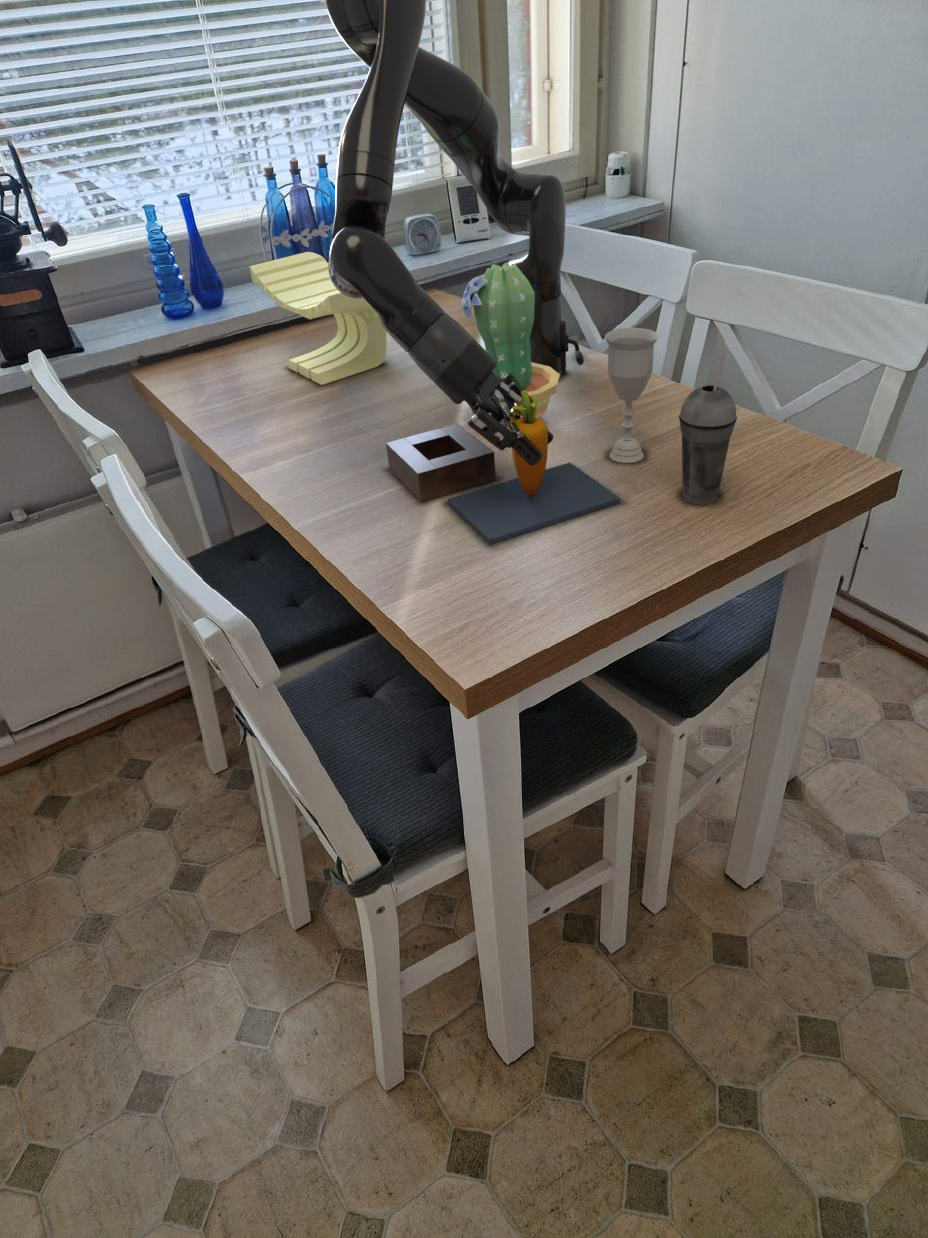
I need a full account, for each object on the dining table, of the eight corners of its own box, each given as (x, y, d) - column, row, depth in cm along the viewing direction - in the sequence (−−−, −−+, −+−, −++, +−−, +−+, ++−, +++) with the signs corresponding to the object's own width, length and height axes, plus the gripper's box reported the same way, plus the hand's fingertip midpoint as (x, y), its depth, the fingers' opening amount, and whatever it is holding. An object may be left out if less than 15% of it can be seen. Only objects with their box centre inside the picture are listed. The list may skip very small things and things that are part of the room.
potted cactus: (489, 402, 152) (480, 250, 137) (574, 413, 146) (574, 254, 131) (449, 439, 141) (434, 278, 126) (539, 452, 135) (534, 284, 120)
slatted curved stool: (417, 372, 166) (406, 274, 155) (344, 396, 159) (328, 296, 148) (336, 336, 186) (321, 248, 175) (268, 357, 179) (249, 266, 168)
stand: (460, 450, 138) (458, 423, 135) (496, 480, 129) (494, 451, 126) (389, 470, 134) (385, 442, 131) (421, 502, 125) (417, 473, 122)
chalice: (655, 447, 133) (662, 328, 123) (647, 467, 128) (654, 345, 118) (607, 443, 136) (610, 326, 125) (597, 463, 131) (599, 343, 120)
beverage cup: (666, 486, 123) (676, 345, 111) (717, 481, 123) (733, 340, 112) (681, 512, 117) (693, 366, 106) (735, 506, 118) (753, 360, 106)
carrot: (546, 507, 119) (545, 402, 110) (510, 505, 120) (506, 401, 111) (551, 489, 123) (550, 386, 114) (515, 488, 124) (512, 386, 115)
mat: (569, 467, 130) (569, 462, 130) (619, 502, 121) (619, 497, 120) (447, 503, 124) (447, 498, 124) (490, 544, 114) (489, 539, 114)
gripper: (450, 359, 106) (549, 459, 109) (487, 320, 117) (575, 412, 120) (414, 398, 111) (509, 493, 114) (452, 357, 121) (538, 445, 125)
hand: (543, 451), depth 117 cm, fingers closed on carrot, 5 cm apart
